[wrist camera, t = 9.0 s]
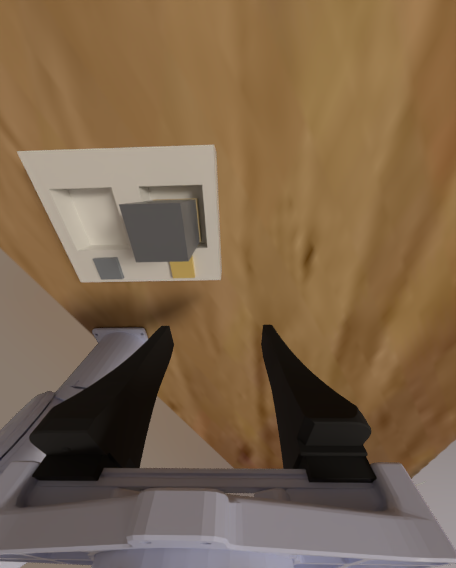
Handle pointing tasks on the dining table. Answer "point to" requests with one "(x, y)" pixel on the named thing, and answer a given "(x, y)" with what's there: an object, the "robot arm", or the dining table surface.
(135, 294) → the dining table surface
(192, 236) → the plug
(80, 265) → the sorting tray
